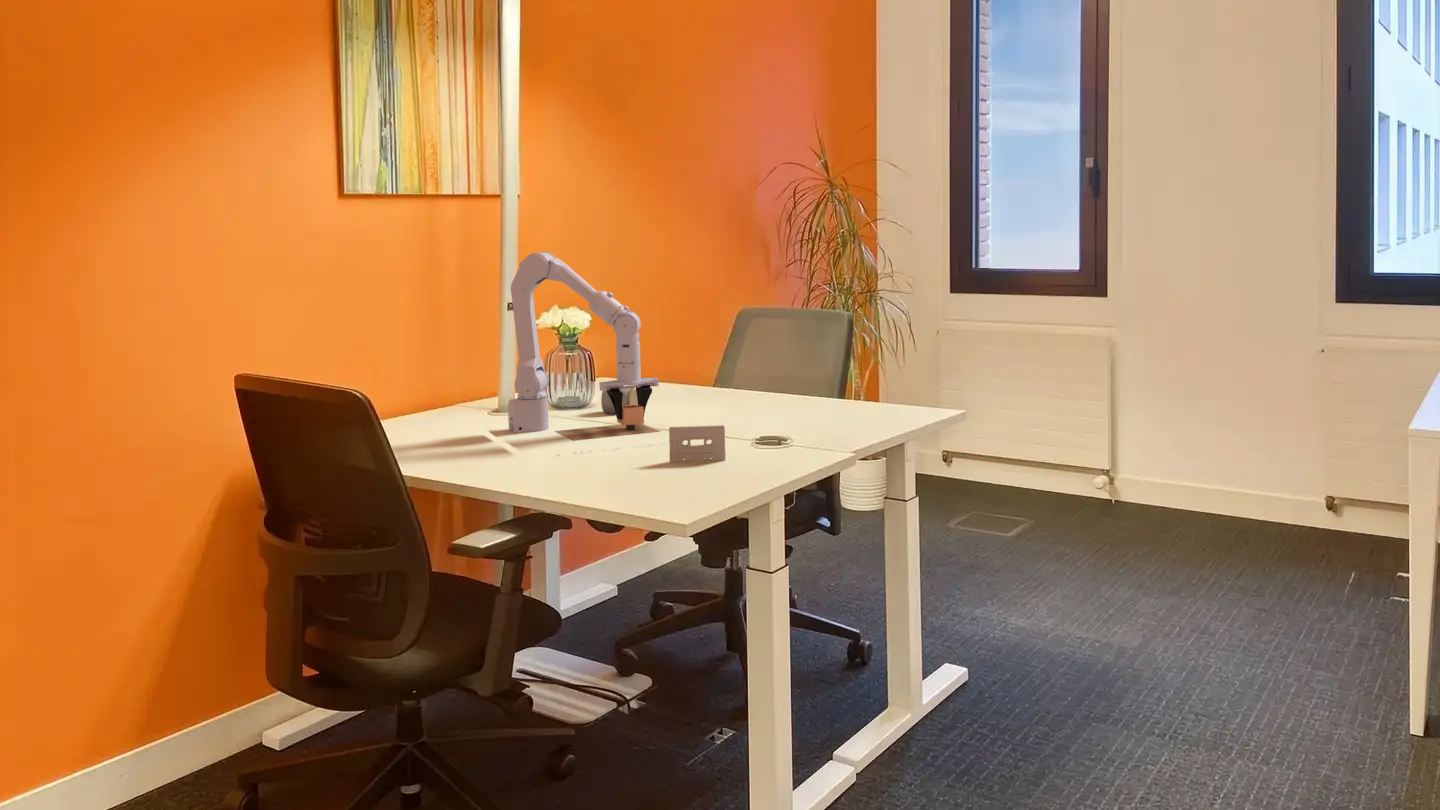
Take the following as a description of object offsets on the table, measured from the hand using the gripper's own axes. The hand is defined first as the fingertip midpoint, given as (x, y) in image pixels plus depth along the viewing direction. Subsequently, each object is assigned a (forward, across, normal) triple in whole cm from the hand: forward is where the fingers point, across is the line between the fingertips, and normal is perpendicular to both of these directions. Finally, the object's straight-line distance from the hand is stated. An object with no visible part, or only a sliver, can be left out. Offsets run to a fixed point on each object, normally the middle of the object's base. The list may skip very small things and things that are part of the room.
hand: (630, 417), depth 298 cm
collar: (+1, 0, 0) cm, 1 cm away
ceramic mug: (+4, +9, +30) cm, 31 cm away
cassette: (+4, 0, -38) cm, 39 cm away
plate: (+4, -6, 0) cm, 7 cm away
